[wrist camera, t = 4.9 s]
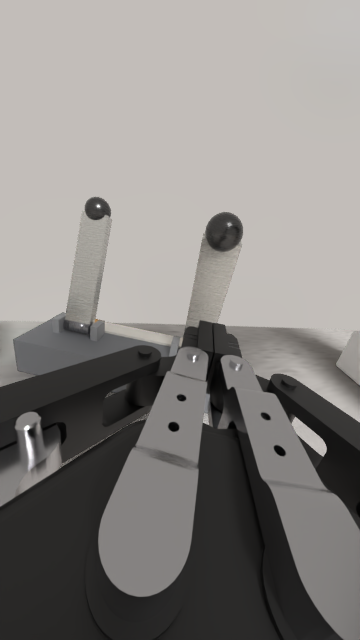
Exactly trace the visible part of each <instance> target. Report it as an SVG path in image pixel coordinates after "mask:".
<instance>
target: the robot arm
mask: <svg viewBox="0 0 360 640" xmlns="http://www.w3.org/2000/svg"><path fill="white" fill-rule="evenodd" d="M124 385H126V389H124V390H122V391H120V392H118V393H115V394H113V395H111V396H109V397H107V398H105V396H106V395H107V394H108V393H109V392H111V391H112V390H114V389H117V388H119V387H121V386H124ZM206 394H210V399H209V402H208V406H207V409H208V419H209V425H207V424H205V423H203V415H204V406H205V398H206ZM149 411H150V413H149V416H148V418H147V420H142V421H138V422H135V423H132V424H130V425H128V424H129V423H131V422H133V421H135V420H136V419H138V418H140V417H141V416H143V415H145V414H146V413H148V412H149ZM295 416H296V417H297V418H298V419H299V420H300V421H302V422H303V423H304V424H305V425H307V426H308V427H309V428H310V429H311V430H313V431H314V432H315V433H316V434H317V435H319V436H320V437H321V438H322V439H323V440H324V442H325V444H326V447H327V452H326V454H325V455H324V457H323V456H321V455H319V454H318V453H317V452H316V451H315V450H314V449H313V448H311V447H310V446H309V445H308V444H307V443H306V442H305V441H304V440H302V439H301V438H300V437H299V436H298V435H297V434H296V432H295V430H294V428H293V426H292V425H291V423H292V421H293V419H294V418H295ZM126 425H128V426H126ZM124 426H126V427H124ZM123 427H124V428H123ZM121 428H123V429H121ZM119 429H121V430H120V431H118V430H119ZM116 431H118V432H116ZM114 432H116V433H115V434H113V433H114ZM111 434H113V435H112V436H110V437H109V438H107V439H105V440H104V441H102V442H101V443H99V444H98V445H96V446H94V447H93V448H91V449H90V450H88V451H87V452H85V453H83V454H82V455H80V456H79V457H77V458H76V459H74V460H72V461H71V462H69V463H68V464H66V465H65V466H63V467H61V464H62V463H63V462H65V461H67V460H68V459H70V458H72V457H74V456H75V455H77V454H79V453H80V452H82V451H84V450H85V449H87V448H89V447H90V446H92V445H94V444H96V443H97V442H99V441H101V440H102V439H104V438H106V437H107V436H109V435H111ZM60 467H61V468H60ZM0 640H360V423H359V422H358V421H356V420H355V419H353V418H352V417H351V416H349V415H348V414H346V413H345V412H343V411H342V410H340V409H339V408H337V407H336V406H334V405H333V404H331V403H330V402H328V401H327V400H325V399H324V398H323V397H321V396H320V395H318V394H317V393H315V392H314V391H312V390H311V389H309V388H308V387H306V386H305V385H303V384H302V383H300V382H299V381H297V380H296V379H294V378H292V377H290V376H287V375H284V374H274V375H272V376H271V379H270V381H269V380H267V379H264V378H262V377H259V376H257V375H255V373H254V371H253V369H252V367H251V365H250V364H249V363H248V362H247V361H246V360H244V359H243V358H242V355H241V352H240V349H239V345H238V341H237V339H236V338H235V337H234V336H233V335H232V334H227V333H226V328H225V325H223V324H218V323H212V322H208V321H203V320H200V321H199V325H198V328H197V327H193V326H189V327H187V328H186V329H185V332H184V337H183V341H182V346H181V349H179V351H178V353H177V355H175V356H171V357H161V353H160V351H159V350H158V349H156V348H154V347H152V346H147V345H138V346H134V347H131V348H128V349H124V350H121V351H118V352H114V353H111V354H108V355H105V356H101V357H98V358H95V359H91V360H88V361H85V362H81V363H78V364H75V365H72V366H68V367H65V368H62V369H58V370H55V371H52V372H48V373H45V374H42V375H39V376H35V377H32V378H29V379H25V380H22V381H19V382H15V383H12V384H9V385H6V386H2V387H0Z"/></svg>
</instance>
